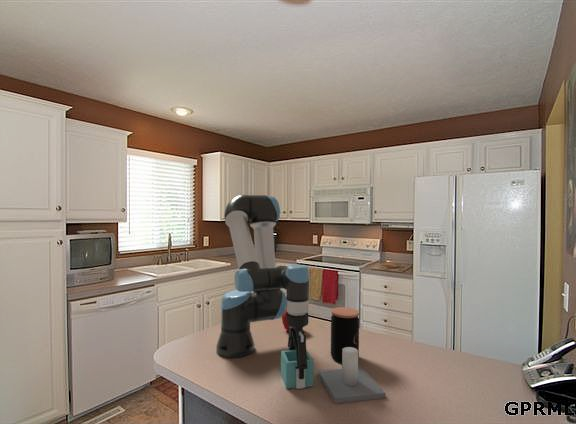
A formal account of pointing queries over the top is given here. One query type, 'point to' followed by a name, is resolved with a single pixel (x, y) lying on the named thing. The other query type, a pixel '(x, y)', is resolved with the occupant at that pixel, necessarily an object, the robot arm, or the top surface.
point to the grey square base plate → (350, 380)
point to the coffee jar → (344, 331)
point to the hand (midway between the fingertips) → (296, 378)
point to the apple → (285, 321)
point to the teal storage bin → (290, 372)
